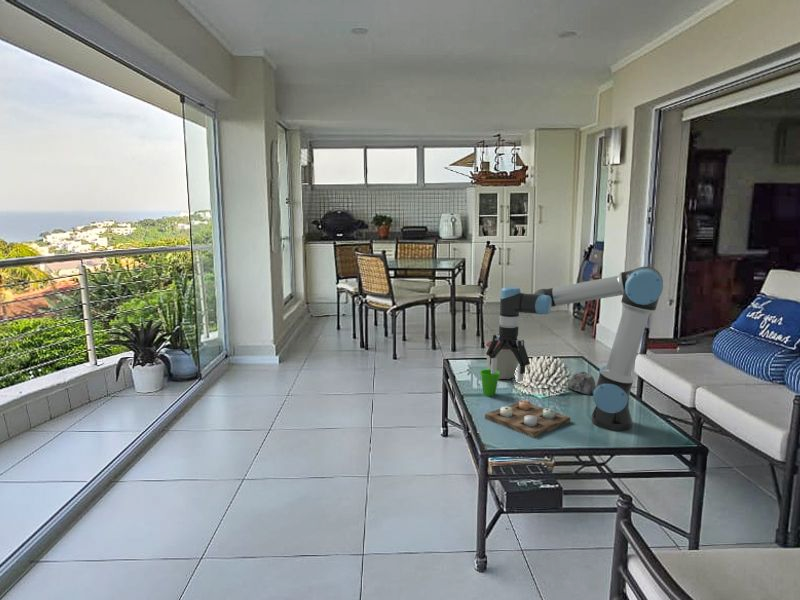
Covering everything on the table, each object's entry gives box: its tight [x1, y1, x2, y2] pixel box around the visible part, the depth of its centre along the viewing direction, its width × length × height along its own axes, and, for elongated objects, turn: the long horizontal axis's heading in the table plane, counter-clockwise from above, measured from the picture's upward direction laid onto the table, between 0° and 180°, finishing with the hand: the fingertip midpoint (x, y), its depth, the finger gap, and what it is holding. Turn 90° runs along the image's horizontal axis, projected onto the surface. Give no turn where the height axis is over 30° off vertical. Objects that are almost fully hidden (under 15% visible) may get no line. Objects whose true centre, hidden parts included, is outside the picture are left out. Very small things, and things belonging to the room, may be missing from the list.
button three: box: [518, 399, 532, 412], centre depth 228 cm, size 5×5×3 cm
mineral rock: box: [568, 371, 597, 396], centre depth 255 cm, size 13×11×10 cm
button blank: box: [524, 415, 537, 428], centre depth 211 cm, size 5×5×3 cm
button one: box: [499, 406, 512, 419], centre depth 220 cm, size 5×5×3 cm
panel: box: [484, 401, 571, 438], centre depth 220 cm, size 24×24×2 cm
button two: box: [543, 407, 556, 421], centre depth 219 cm, size 5×5×3 cm
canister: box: [484, 340, 519, 380], centre depth 275 cm, size 18×18×21 cm
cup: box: [479, 368, 500, 397], centre depth 249 cm, size 9×9×11 cm
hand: (506, 377), depth 220 cm, fingers open, 13 cm apart
